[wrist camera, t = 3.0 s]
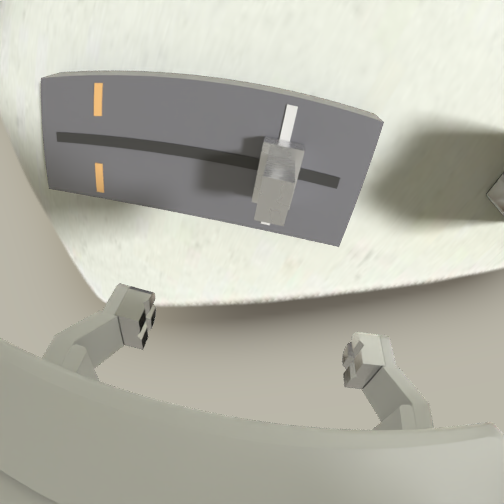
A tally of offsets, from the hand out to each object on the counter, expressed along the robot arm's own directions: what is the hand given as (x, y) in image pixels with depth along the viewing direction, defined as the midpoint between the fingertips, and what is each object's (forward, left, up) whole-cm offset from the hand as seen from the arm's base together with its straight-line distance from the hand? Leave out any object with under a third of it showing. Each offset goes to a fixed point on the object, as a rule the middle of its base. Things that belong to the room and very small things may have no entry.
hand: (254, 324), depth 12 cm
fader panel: (+8, 0, -19) cm, 20 cm away
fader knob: (0, 0, -15) cm, 15 cm away
